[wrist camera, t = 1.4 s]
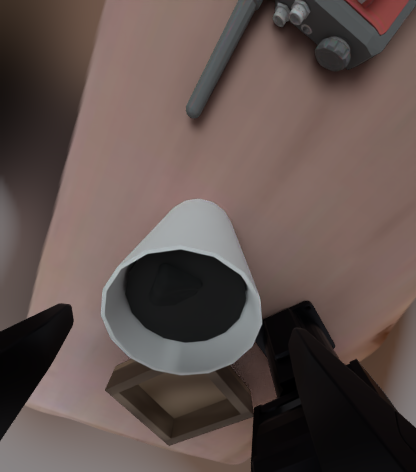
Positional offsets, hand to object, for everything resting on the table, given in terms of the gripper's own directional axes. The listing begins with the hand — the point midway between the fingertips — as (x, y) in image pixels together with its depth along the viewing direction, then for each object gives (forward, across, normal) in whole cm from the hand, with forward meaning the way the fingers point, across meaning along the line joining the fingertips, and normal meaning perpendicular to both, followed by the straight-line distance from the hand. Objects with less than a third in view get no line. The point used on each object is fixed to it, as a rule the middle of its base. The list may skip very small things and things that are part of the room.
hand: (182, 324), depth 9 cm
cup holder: (+10, 0, +18) cm, 20 cm away
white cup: (+10, 0, 0) cm, 10 cm away
